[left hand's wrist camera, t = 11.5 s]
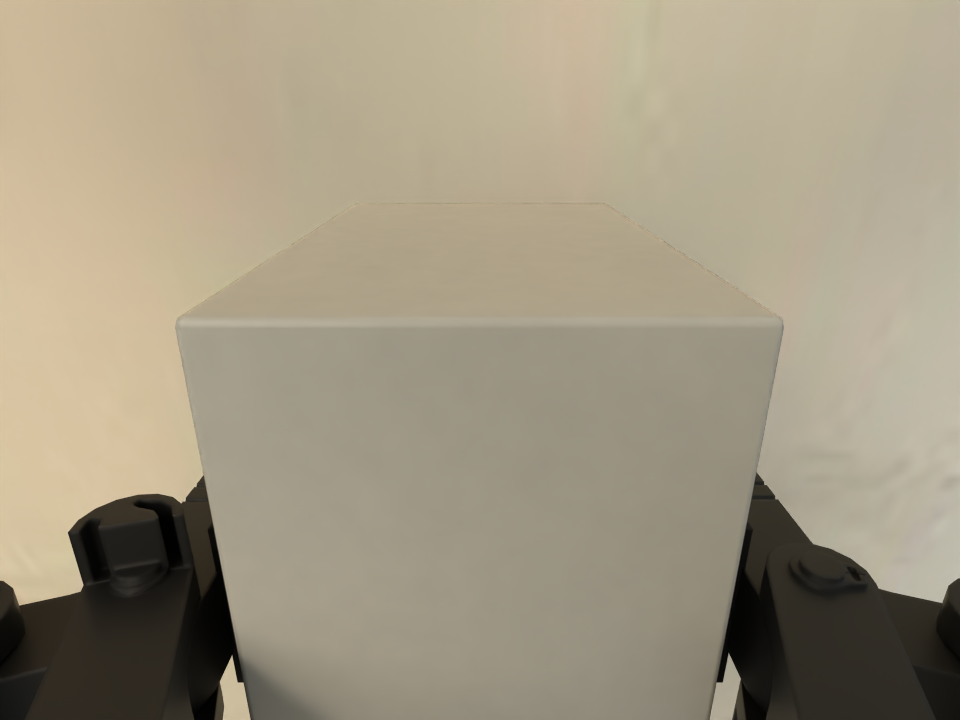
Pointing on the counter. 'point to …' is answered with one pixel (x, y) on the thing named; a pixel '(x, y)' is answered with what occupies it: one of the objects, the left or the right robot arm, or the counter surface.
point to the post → (479, 464)
